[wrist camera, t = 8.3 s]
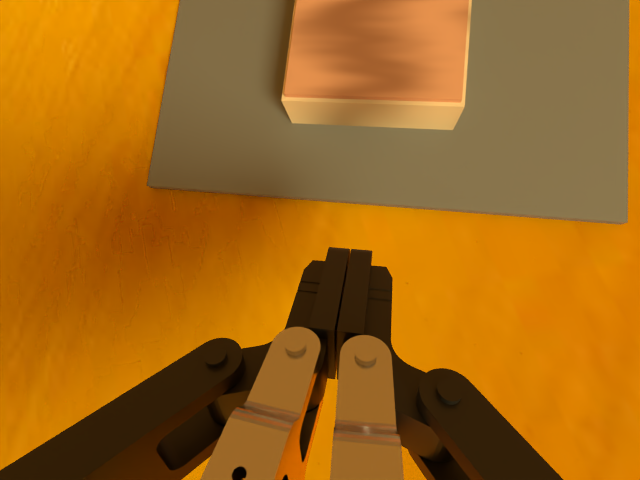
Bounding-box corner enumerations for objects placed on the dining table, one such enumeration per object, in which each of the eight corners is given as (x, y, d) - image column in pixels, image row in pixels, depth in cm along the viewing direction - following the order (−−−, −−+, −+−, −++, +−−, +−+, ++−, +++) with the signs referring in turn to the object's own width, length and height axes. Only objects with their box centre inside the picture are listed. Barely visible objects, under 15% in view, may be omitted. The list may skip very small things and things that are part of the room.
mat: (151, 188, 22) (146, 185, 21) (192, -42, 24) (188, -49, 23) (620, 224, 18) (627, 222, 17) (623, -57, 20) (629, -65, 19)
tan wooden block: (279, 97, 18) (305, -93, 19) (292, 123, 21) (313, -45, 22) (466, 103, 17) (479, -102, 18) (452, 130, 19) (465, -50, 21)
